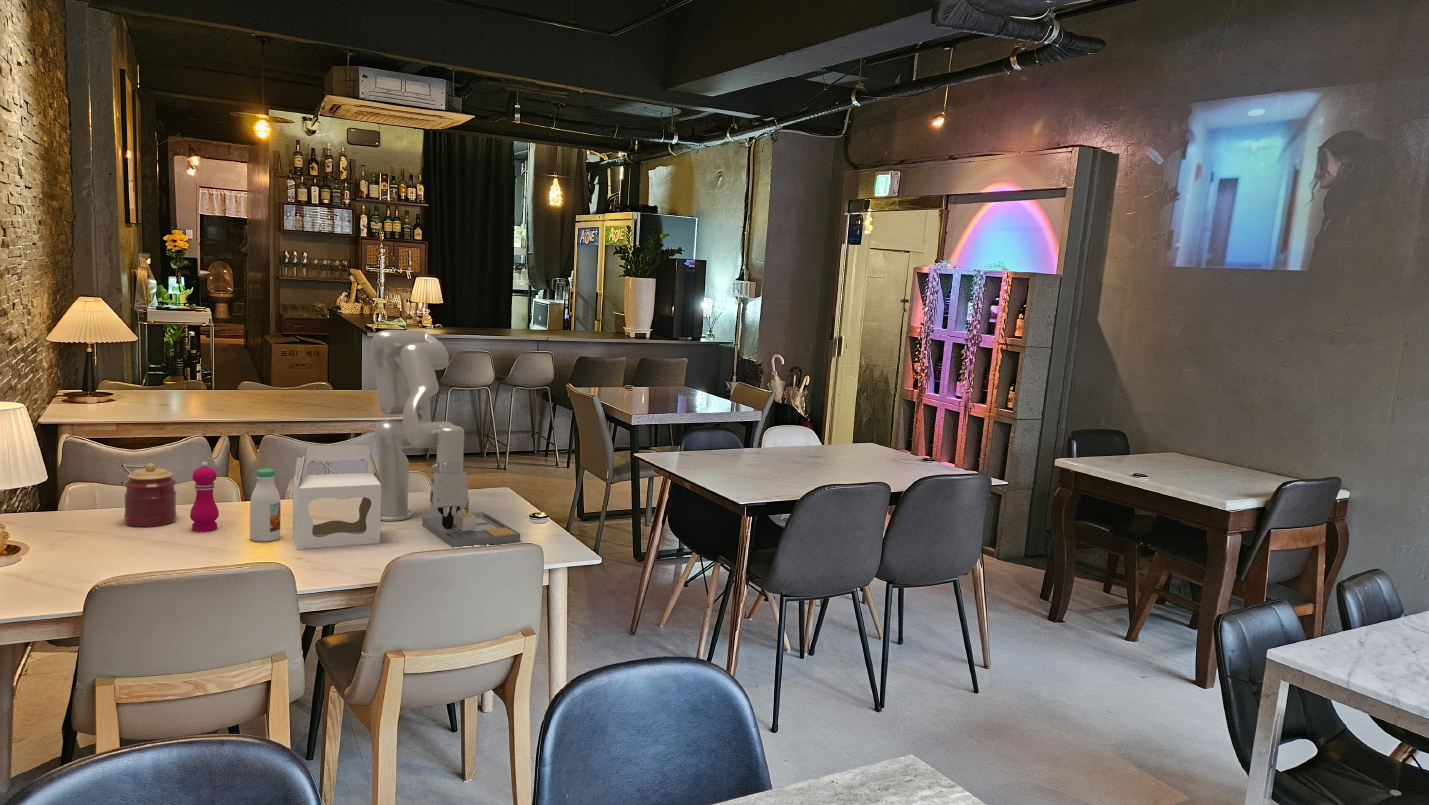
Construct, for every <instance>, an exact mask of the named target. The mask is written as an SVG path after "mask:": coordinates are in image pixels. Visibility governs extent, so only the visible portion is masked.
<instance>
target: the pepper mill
mask: <svg viewBox="0 0 1429 805" xmlns="http://www.w3.org/2000/svg"><path fill="white" fill-rule="evenodd" d="M200 466H201V467H198V468H196V469H195V470H193V473H192V479H193V481H194V482H195V484H194V489H195V491H196V496H195V499H194V500H195V501H194V503H193V506H192V507H191V509H190V514H189V518H190V520H191V521H193V523H192V524H191V531H192V532H195V533H208V532H209V533H210V532H213V531H215V530H217V529H218V523H217V522H216V520H217V519H218V518H219V515H220V512H219V509H218V506H217V504H216V502H215V499H214V489H215V488H216V487H215V483H214V482H215V481H216V479H217V472H216V470H215V468H213V467H210V466H209V463H208V462H207V461H203V462H201V464H200Z"/></svg>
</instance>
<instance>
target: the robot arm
mask: <svg viewBox="0 0 1429 805" xmlns="http://www.w3.org/2000/svg"><path fill="white" fill-rule="evenodd" d="M370 354H371V358H372V361H373V365H374V368H375V373H376V392H377V402H378V409H379V411H380V412H381V413H382V414H384V415H392V416H393V415H395V416H396V415H402V418H393V419H392V418H391V419H385V420H382V421H380V422H378V424H377V425H376V426H375V429H374V438H375V444H376V453H377V454H376V455H378V468H379V473H378V476H379V479H380V482H381V484H382V488H381V521H384V522H385V521H387V522H390V521H391V522H396V521H403V520H408V519H410V518H412V517H413V511H412V510H410V509H408V507H409V506H408V505H409V504H408V503H409V476H410V473H409V472H410V471H409V470H410V463H409V459H408V457H407V456H406V454H405V453H404V451H403V449H410V448H416V449H427V448H436V461H435V464H431V469H432V470H435V472H433V476H432V481H431V484H430V493H429V494H430V495H429V502H430V505H429V510H430V511H435V512H438V513H440V514H441V516H442V526H443V528H445V529H446V530H448V529H452V526H453V525H454V516H455V514H456V512H457V511H458V510H459V509H462V508H465V507H466V504H467V502H468V496H469V491H468V479H467V473H466V472H465V471H464V446H465V431H464V430H465V429H464V428H463V427H462V426H458V425H454V424H453V423H452V422H450V421H445V420H444V421H432V415H431V414H432V413H431V400H430V398H431V397H432V396H435V395H436V394H437V393H438V392H439V389H440V385H439V383H438V379H437V375H436V372H435V371H437V370H438V371H440V370H444V369H445V368H447V367H448V365H449V362H450V360H449V359H450V358H449V357H450V356H449V352H448V350H447V347H446V346H445V345H444V344H443V343H442V342H441V341H440V340H439V339H437V338H436V337H435V336H433V335H432V334H431V333H428V331H424V330H419V329H418V330H417V329H416V330H415V329H414V330H412V329H411V330H410V329H384V330H380V331H378V332H377V333H375V334H374V335H373V337H372V339H371V343H370ZM396 357H398V358H400V360H401V362H400V361H399V360H398V358H396ZM406 382H407V383H406ZM447 508H449V511H448V512H447Z"/></svg>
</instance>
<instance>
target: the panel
mask: <svg viewBox="0 0 1429 805" xmlns="http://www.w3.org/2000/svg"><path fill="white" fill-rule="evenodd" d="M470 513H471V514H472V515H474V516H476V530H470V531H462V530H460V529H459V528H457V524H455V525H453V526H452V529H448V530H446V529H445V528H443V526H442V515H439V516H427V517H422V519H421V520H422V521H421V522H422V523H421V525H422V527H424V528H425V529H427V530H428V531H429V532H431V533H432V534H433V535H435V536H436V537H437V538H439V539H440V540H442V541H443V542H444V543H445V544H448V545H449V546H450V547H451V548H453V547H463V546H474V545H487V544H497V545H501V544H500V543H505V544H511V543H510V542H513V543H520V542H521V533H520V532H519V531H517V530H515V529H514V528H511V527H510V526H508V525H506V524H504V523H503V522H501V521H500V520H498V519H496V518H495V517H493V516H491V515H489V514H488V513H486V512H484V511H482V512H481V511H479V512H470Z"/></svg>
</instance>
